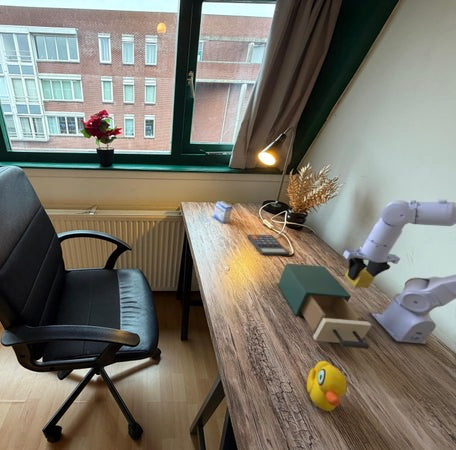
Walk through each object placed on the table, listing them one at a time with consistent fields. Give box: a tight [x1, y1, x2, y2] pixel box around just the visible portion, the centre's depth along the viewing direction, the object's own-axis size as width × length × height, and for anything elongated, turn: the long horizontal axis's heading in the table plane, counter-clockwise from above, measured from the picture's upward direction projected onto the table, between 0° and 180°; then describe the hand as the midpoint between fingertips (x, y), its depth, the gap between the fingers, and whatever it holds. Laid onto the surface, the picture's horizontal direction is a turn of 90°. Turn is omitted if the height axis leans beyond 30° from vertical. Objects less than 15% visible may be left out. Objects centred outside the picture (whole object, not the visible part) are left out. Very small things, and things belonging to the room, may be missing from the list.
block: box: [344, 268, 375, 289], centre depth 76 cm, size 5×4×4 cm
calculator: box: [247, 234, 290, 256], centre depth 108 cm, size 12×1×15 cm
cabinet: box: [278, 263, 352, 317], centre depth 77 cm, size 14×13×9 cm
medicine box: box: [213, 200, 233, 224], centre depth 127 cm, size 8×4×9 cm, turn 25°
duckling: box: [306, 360, 348, 412], centre depth 50 cm, size 11×5×10 cm, turn 151°
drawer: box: [301, 295, 372, 349], centre depth 66 cm, size 17×11×7 cm
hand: (358, 278), depth 76 cm, fingers closed on block, 4 cm apart
